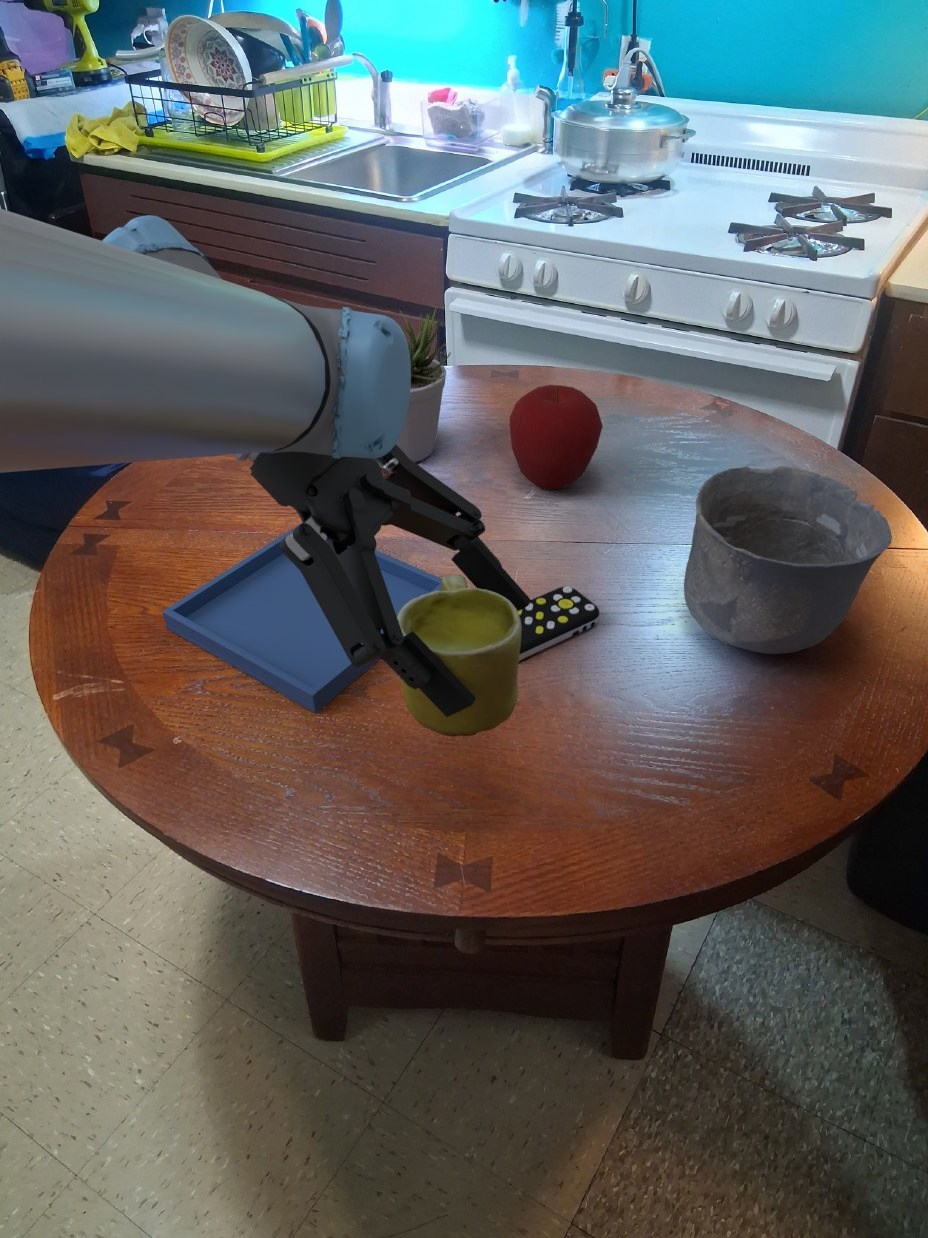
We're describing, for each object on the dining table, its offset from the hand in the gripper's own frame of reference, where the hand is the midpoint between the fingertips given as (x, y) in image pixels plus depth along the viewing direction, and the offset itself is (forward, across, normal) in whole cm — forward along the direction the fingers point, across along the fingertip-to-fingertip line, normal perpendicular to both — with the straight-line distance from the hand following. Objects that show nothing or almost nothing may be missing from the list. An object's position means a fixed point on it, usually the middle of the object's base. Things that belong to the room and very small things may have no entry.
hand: (491, 655), depth 65 cm
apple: (+3, -52, -19) cm, 56 cm away
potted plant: (-12, -52, -34) cm, 64 cm away
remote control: (+9, -23, -13) cm, 28 cm away
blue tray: (-8, -16, -30) cm, 35 cm away
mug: (+1, 0, -5) cm, 5 cm away
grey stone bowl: (+24, -31, +2) cm, 39 cm away
